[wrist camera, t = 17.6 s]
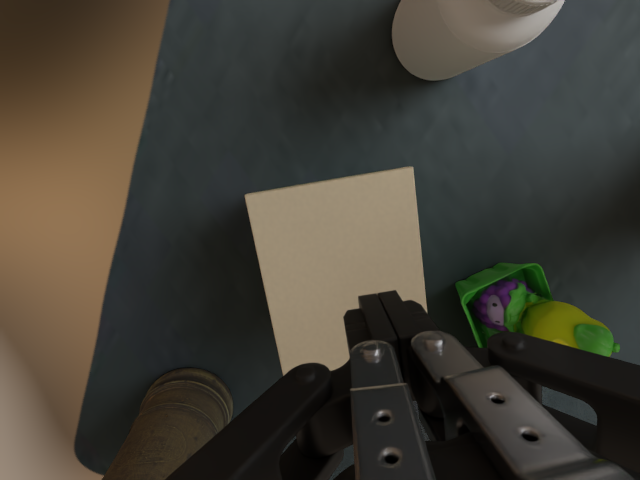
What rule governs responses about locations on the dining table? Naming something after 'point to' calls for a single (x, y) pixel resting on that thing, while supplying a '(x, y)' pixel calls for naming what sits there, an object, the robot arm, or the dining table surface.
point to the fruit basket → (527, 309)
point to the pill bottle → (464, 32)
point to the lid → (334, 257)
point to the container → (172, 424)
